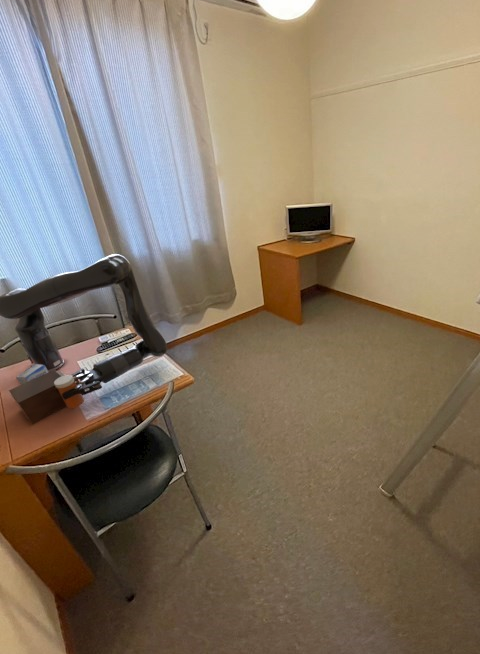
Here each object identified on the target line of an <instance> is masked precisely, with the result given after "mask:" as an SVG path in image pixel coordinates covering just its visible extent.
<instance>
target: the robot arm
mask: <svg viewBox="0 0 480 654" xmlns="http://www.w3.org/2000/svg"><path fill="white" fill-rule="evenodd" d="M117 285H118V286H119V288H120V290H121V293H122V296H123V301H124V307H125V312H126V316H127V317H126V318H127V319H128V321H129V323H130V325H131V327H132V329H133V331H134V332H135V334H136V335H137V336H138V337H139V338H141V339H142V340H140V341H138V342H137V343H136V344H134V345H133V346H132V347H130V348H127V349H126V350H124V351H121V352H119V353H116V354H113V355H111V356H109V357H107V358H105V359H103V360H101V361H98V362H96V363H94V364H93V366H92V369H89V370H85V368H84V367H82V368H80V369H79V370H77V371H75V372H73V373H72V374H71V375H72V376H73V378H74V381H75V383H76V385H77V386H76V387H75V389H74V388H72V389H70V390H68V391H66V392H64V393H62V397H63V398H64V399H65V400H66V399H68V398H70V397H72V396H74V395H76V394H81V395H82V396H85V395H88V394H90V393H94V392H96V391H98V390H100V389H102V388H103V386H102V384H107V383H109V382H112V381H113V380H115V379H116V378H119V377H120V376H123V375H124V374H126V373H127V372H129V371H131V370H132V369H134V368H136V367H138V366H140V365H142V364H143V362H144V359H147V358H148V357H151V356H152V357H154V358H155V357H156V358H160V357H164V355H166V353H167V351H168V344H167V342H166V340H165V338H164V337H163V335H162V334H161V333H160V331H159V330H158V328H156V326H155V324H154V322H153V320H152V318H151V316H150V314H149V312H148V311H147V308H146V306H145V303H144V301H143V297H142V295H141V292H140V289H139V287H138V284H137V281H136V278H135V275H134V270H133V268H132V266H131V263H130V262H129V260H128V259H127V258H126V257H125V256H123V255H121V254H117V253H114V254H110V255H107V256H105V257H103V258H101V259H99V260H98V261H96V262H94V263H92V264H90V265H88V266H86V267H85V268H84V267H83V268H82V269H80V270H76V271H68V272H62V273H59V274H55V275H52V276H50V277H48V278H46V279H45V278H44V279H43V280H41V281H39V282H37V283H35V284H33V285H32V286H30V287H28V288H23V287H17V288H13V289H12V290H9V291H7V292H5V293H3V294H1V295H0V317H2V318H4V319H7V320H17V322H16V324H15V326H14V331H15V333H16V335H17V337H18V339H19V340H20V342H21V344H22V345H23V348H24V349H25V351H26V352H27V354H26V357H27V358H28V360H29V361H30V363H31V365H33V366H34V365H35V364H39V365H45V367H46V369H47V371H48V372H51V371H53V370H55V371H57V370H58V369H60V368H62V367H63V366H64V364H65V360H64V359H63V357H62V355H61V352H60V351H59V349H58V347H57V345H56V343H55V341H54V339H53V337H52V335H51V334H50V332H49V329H48V328H47V325H46V324H45V316H44V314H43V311H42V309H44V308H47V307H51V306H54V305H58V304H62V303H65V302H68V301H72V300H73V299H77V298H78V297H81V296H83V295H85V294H87V293H88V292H91V291H96V290H100V289H105V288H109V287H114V286H117ZM55 389H56V391H57V392H58V393H59V391H58V389H57V387H55Z"/></svg>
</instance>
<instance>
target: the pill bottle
mask: <svg viewBox="0 0 480 654" xmlns="http://www.w3.org/2000/svg"><path fill="white" fill-rule="evenodd" d="M64 375H65V376H61V377H59V378H58V379H56V380H55V381H54V384H55V386H56V387H57V389H58V391H59V393H60V394H61V396H62V393H64V392H66V391H68V390H70V389H72V388H74V389H75V387H76V386H78V385H76V383H75V381H74V377H73V376H72V374H64ZM62 398H63V397H62ZM63 400H64V402H65V404H66V405H67V406H66V408H68V409H76V408H78V407H80V406H82V405H83V404H84V403H85V398H84V396H83V395H82V394H76V395H74V396H72V397H70V398H68V399H66V400H65V399H64V398H63Z"/></svg>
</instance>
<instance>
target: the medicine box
mask: <svg viewBox="0 0 480 654" xmlns="http://www.w3.org/2000/svg"><path fill="white" fill-rule="evenodd" d="M46 373H48V371H47V369H46V367H45V365H39V364H35V365H34V364H33V365H32V366H30V367H29V368H27V369H26V370H24V371H23V372H21V373H20V374H18V375H17V376H16V377H15V379H16V380H17V381H18V383H19V384H20V385H22V384H24V383H26V382H28V381H31V380H33V379H35V378H37V377H40V376H42V375H44V374H46Z"/></svg>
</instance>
